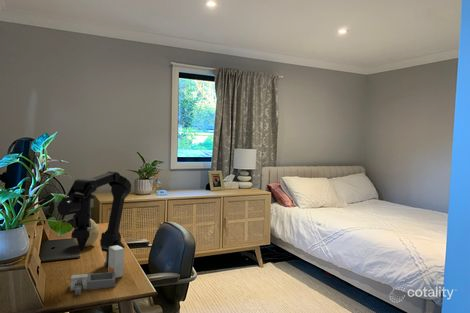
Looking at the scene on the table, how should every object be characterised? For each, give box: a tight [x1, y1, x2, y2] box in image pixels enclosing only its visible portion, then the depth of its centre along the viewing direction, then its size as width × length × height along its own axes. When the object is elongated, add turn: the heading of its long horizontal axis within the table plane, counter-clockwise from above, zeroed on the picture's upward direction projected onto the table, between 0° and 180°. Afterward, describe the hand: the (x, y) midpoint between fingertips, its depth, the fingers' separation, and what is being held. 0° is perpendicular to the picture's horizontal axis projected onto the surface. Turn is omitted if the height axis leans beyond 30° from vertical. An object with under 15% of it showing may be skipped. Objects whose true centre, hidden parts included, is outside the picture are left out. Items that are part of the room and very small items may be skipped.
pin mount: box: [69, 273, 89, 292], centre depth 132 cm, size 6×6×4 cm
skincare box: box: [107, 245, 125, 279], centre depth 145 cm, size 6×4×12 cm
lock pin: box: [74, 280, 83, 296], centre depth 131 cm, size 11×2×3 cm, turn 21°
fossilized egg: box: [72, 218, 100, 248], centre depth 181 cm, size 13×13×15 cm
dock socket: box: [86, 271, 116, 291], centre depth 136 cm, size 8×10×3 cm
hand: (81, 249), depth 136 cm, fingers open, 3 cm apart
